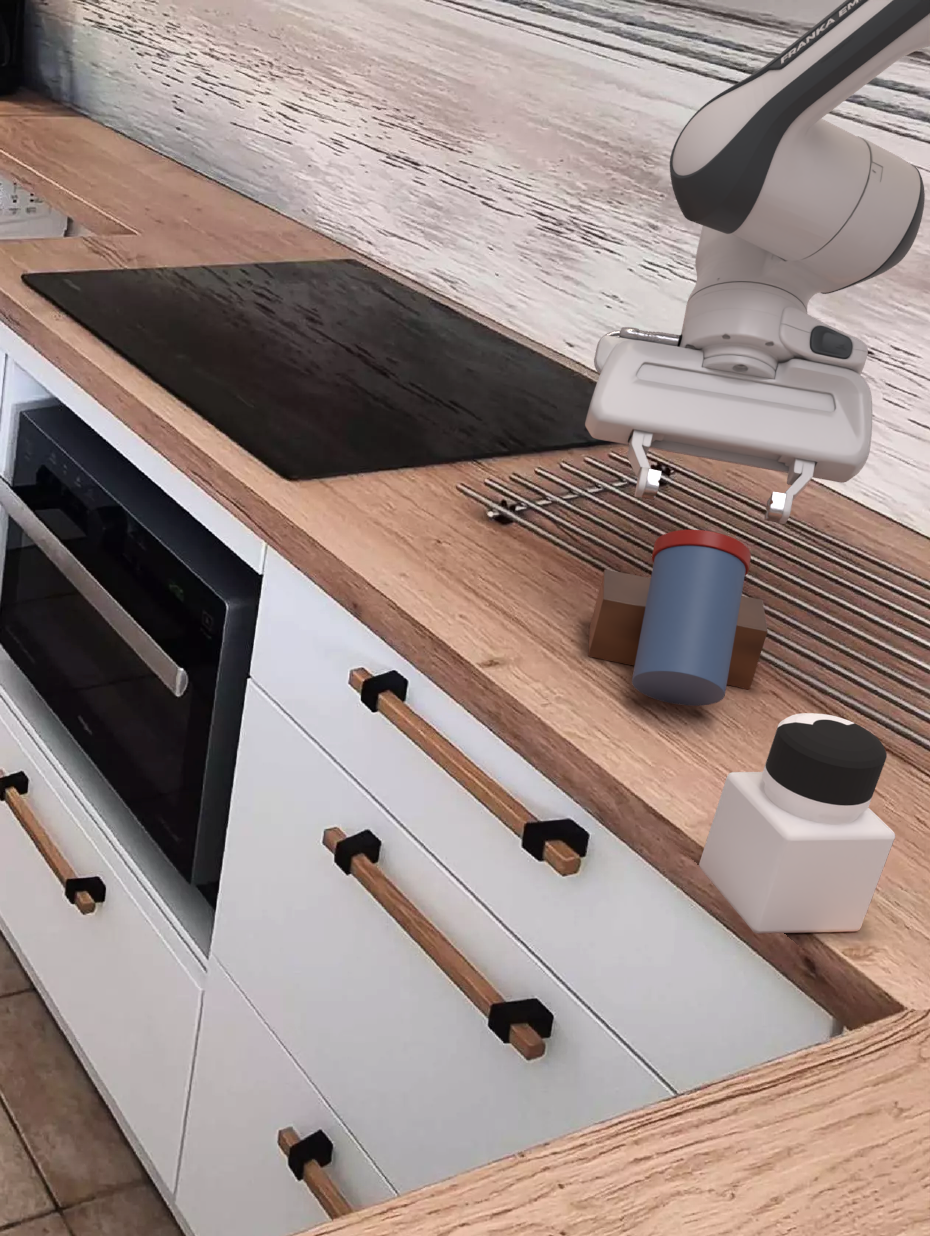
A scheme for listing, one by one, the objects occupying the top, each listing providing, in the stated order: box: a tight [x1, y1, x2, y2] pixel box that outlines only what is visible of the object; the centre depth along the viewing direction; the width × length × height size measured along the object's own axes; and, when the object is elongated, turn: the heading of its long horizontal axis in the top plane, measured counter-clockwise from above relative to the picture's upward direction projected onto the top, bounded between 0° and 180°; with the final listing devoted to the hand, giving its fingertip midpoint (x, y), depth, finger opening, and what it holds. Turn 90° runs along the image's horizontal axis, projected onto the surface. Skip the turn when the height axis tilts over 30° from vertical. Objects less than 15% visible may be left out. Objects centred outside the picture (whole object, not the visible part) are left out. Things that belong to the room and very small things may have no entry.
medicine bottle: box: [698, 712, 896, 935], centre depth 103 cm, size 7×7×12 cm
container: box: [631, 529, 752, 707], centre depth 127 cm, size 7×12×12 cm, turn 163°
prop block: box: [587, 569, 769, 690], centre depth 134 cm, size 12×6×5 cm, turn 73°
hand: (710, 507), depth 130 cm, fingers open, 8 cm apart
